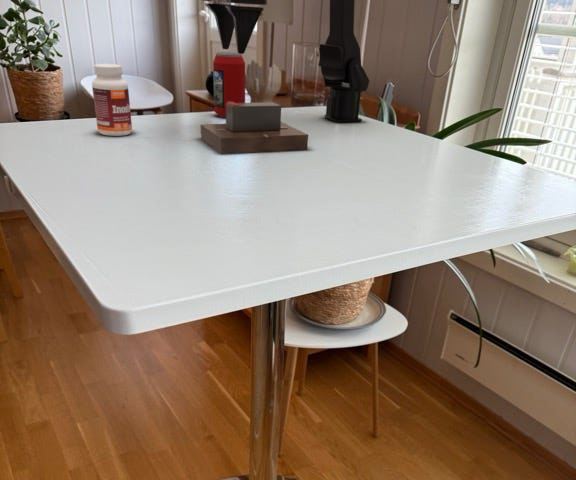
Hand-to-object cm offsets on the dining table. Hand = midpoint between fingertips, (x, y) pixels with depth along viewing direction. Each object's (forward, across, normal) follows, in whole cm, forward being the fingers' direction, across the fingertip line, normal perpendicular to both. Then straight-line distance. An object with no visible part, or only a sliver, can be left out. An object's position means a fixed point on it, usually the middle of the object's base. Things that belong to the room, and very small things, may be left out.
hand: (233, 51), depth 102 cm
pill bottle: (+14, -2, -22) cm, 26 cm away
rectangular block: (+11, +11, 0) cm, 16 cm away
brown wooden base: (+14, +11, 0) cm, 18 cm away
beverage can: (+14, -17, +4) cm, 22 cm away
